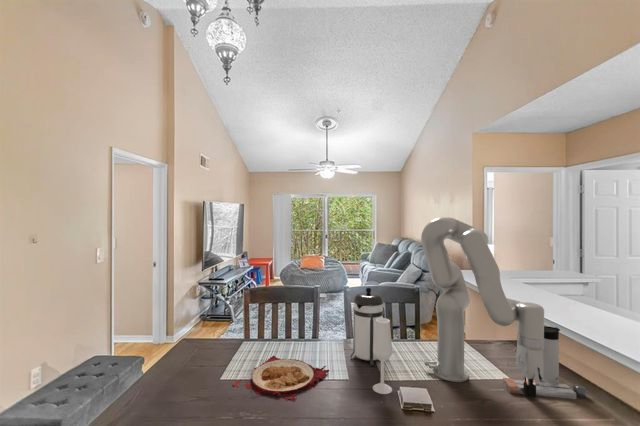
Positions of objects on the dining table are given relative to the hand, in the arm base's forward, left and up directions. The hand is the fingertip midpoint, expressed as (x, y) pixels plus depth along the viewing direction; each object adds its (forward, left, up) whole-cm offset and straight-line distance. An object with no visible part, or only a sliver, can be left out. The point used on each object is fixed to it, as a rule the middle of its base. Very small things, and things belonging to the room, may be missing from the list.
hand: (529, 395), depth 109 cm
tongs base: (+7, +5, -1) cm, 8 cm away
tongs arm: (+5, +3, -1) cm, 5 cm away
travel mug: (+11, +12, -1) cm, 16 cm away
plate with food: (-85, -3, -2) cm, 85 cm away
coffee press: (-54, +21, -1) cm, 58 cm away
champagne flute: (-49, -3, -1) cm, 49 cm away
